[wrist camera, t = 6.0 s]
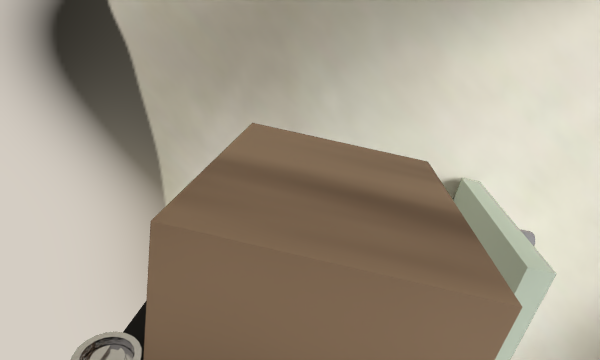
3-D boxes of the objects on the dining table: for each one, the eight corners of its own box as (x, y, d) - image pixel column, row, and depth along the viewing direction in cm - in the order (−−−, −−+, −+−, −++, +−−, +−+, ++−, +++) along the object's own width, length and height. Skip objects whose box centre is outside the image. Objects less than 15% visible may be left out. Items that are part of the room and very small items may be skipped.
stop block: (252, 122, 11) (151, 221, 5) (427, 161, 10) (523, 307, 5) (214, 376, 14) (131, 594, 9) (342, 408, 14) (341, 649, 9)
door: (446, 307, 29) (492, 440, 20) (416, 300, 29) (446, 429, 20) (497, 185, 25) (585, 280, 16) (461, 177, 25) (527, 267, 16)
